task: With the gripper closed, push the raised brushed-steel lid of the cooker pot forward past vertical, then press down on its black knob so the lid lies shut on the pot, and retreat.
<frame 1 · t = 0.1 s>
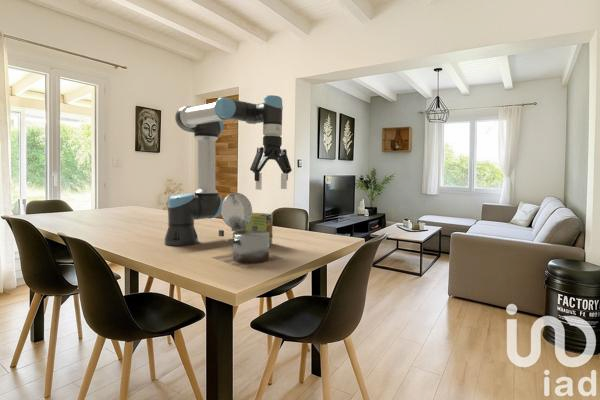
hand: (271, 189, 134), 28 cm above the table, fingers open, 13 cm apart
pot: (251, 258, 129), resting on board
lid: (235, 211, 134), point 19 cm above the table, hinge at 100.0°
protein box: (253, 247, 154), on the table
board: (247, 260, 130), on the table
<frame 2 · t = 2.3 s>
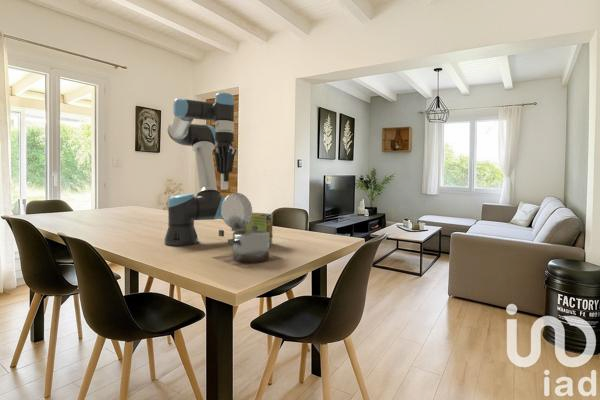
hand: (224, 189, 138), 27 cm above the table, fingers closed
nothing on the table moved.
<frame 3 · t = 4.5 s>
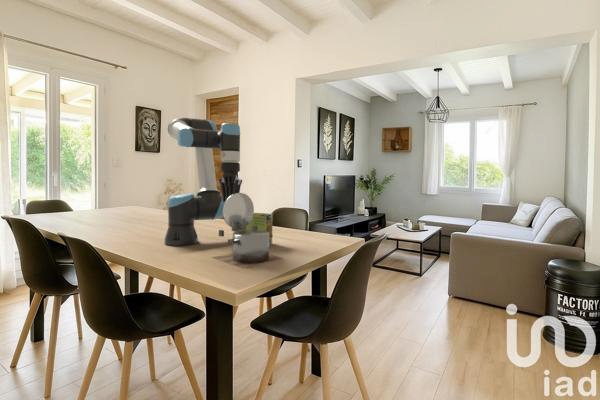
hand: (230, 219, 136), 15 cm above the table, fingers closed
lid: (237, 211, 133), point 19 cm above the table, hinge at 91.1°, touching gripper
everything else where it was.
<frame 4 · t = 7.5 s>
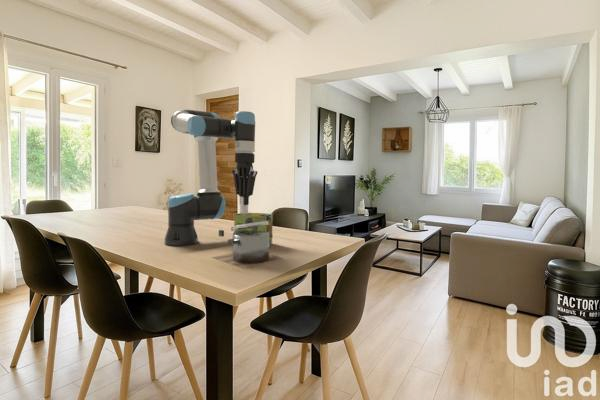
hand: (244, 213, 130), 19 cm above the table, fingers closed
lid: (248, 222, 128), point 15 cm above the table, hinge at 15.9°
everything else where it was.
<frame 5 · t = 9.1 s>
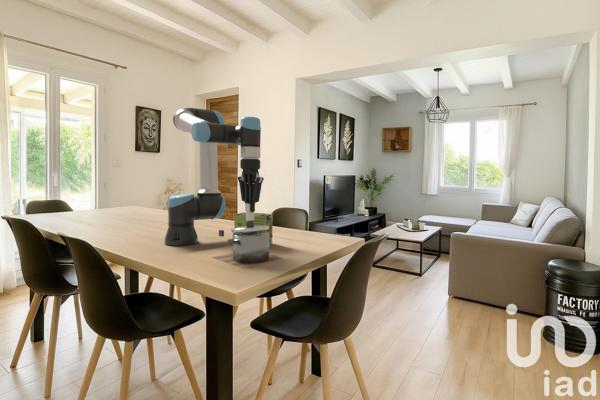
hand: (250, 220, 128), 16 cm above the table, fingers closed
lid: (249, 225, 128), point 14 cm above the table, hinge at 6.9°, touching gripper
everything else where it was.
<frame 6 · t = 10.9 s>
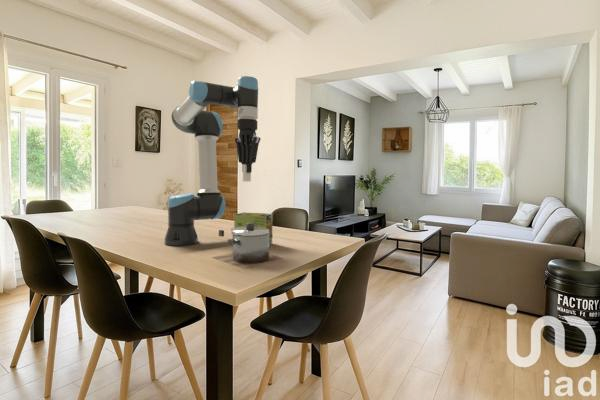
hand: (246, 181, 128), 31 cm above the table, fingers closed
lid: (249, 228, 128), point 13 cm above the table, hinge at -0.8°, touching pot
everything else where it was.
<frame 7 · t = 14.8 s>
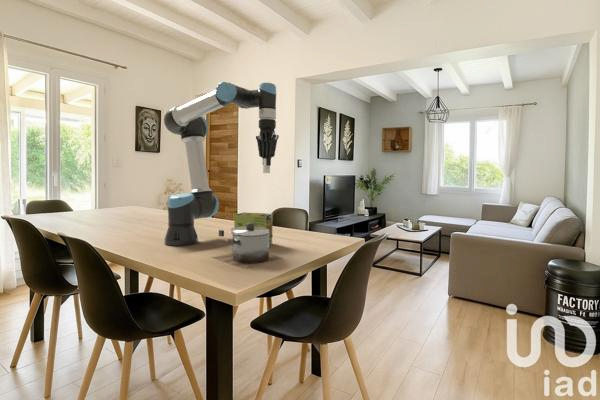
hand: (266, 173, 148), 34 cm above the table, fingers closed
nothing on the table moved.
at the end: lid at -1° (first picture: +100°) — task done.
